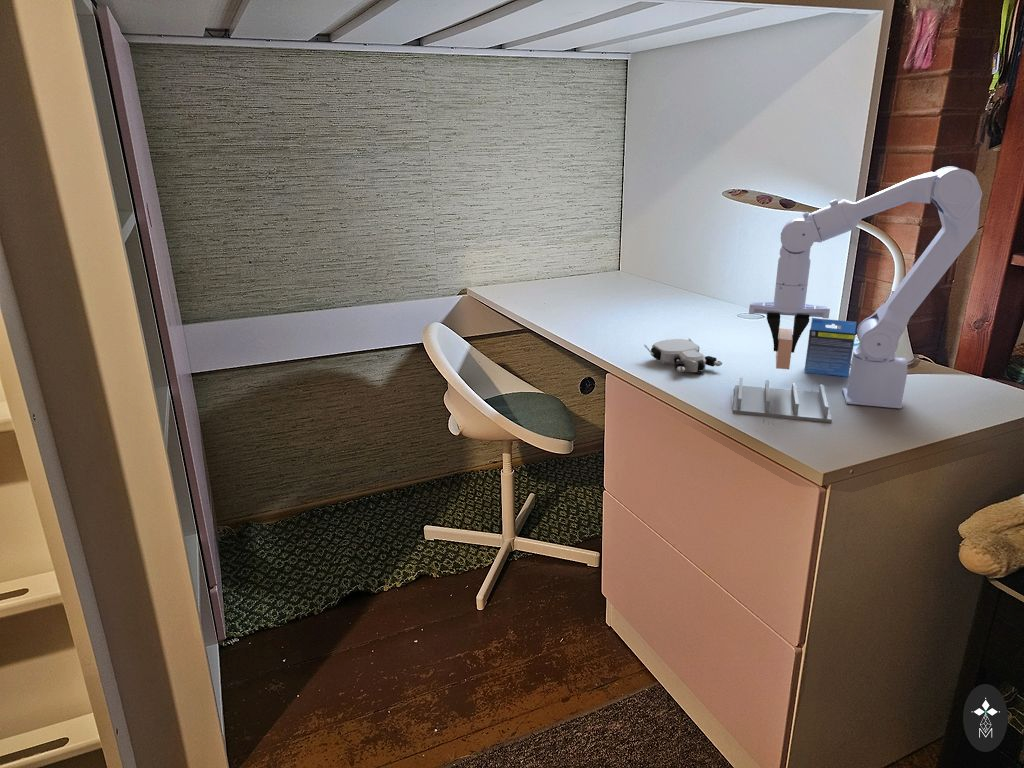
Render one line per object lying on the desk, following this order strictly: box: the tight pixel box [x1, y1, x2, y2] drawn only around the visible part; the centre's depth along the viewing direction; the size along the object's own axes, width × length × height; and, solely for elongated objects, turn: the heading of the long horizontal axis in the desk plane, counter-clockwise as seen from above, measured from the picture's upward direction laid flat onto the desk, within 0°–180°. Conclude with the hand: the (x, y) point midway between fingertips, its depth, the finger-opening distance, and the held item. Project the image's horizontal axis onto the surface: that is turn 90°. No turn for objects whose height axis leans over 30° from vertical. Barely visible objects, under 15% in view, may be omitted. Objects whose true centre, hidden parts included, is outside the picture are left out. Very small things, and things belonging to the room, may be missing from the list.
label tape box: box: [804, 317, 857, 378], centre depth 147 cm, size 9×4×12 cm, turn 66°
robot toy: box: [644, 338, 723, 373], centre depth 155 cm, size 12×4×15 cm
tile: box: [775, 327, 793, 370], centre depth 137 cm, size 2×8×6 cm, turn 161°
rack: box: [732, 377, 833, 423], centre depth 132 cm, size 17×14×3 cm
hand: (783, 350), depth 137 cm, fingers closed on tile, 2 cm apart
